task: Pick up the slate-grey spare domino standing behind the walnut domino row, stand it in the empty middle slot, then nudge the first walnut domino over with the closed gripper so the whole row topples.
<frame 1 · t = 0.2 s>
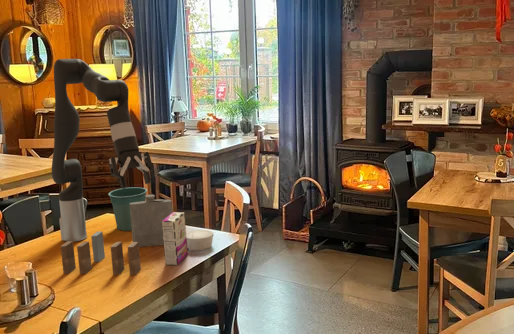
hand: (136, 185, 170), 31 cm above the table, tool tilted 20°, fingers open, 8 cm apart
domino 2: (85, 271, 181), on the table
ramekin: (199, 247, 202), on the table
flower pot: (131, 227, 230), on the table
hip flask: (153, 244, 207), on the table
domino 5: (135, 272, 179), on the table
candy bar box: (176, 260, 189), on the table
domino 1: (69, 271, 182), on the table
spare domino: (99, 259, 192), on the table
domino 4: (118, 271, 180), on the table
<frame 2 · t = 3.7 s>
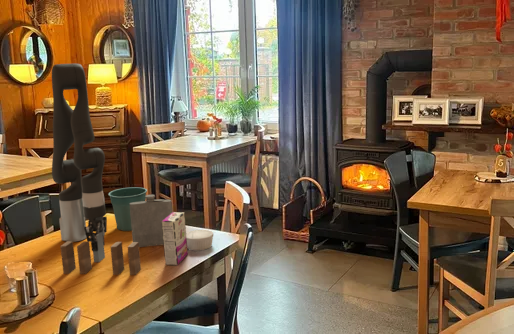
hand: (98, 248, 191), 4 cm above the table, tool pointing down, fingers closed on spare domino, 5 cm apart
spare domino: (99, 259, 192), on the table, touching gripper
everything else where it was.
when the fingers open (5 cm above the table, at t = 9.5 s): spare domino stays where it is, on the table.
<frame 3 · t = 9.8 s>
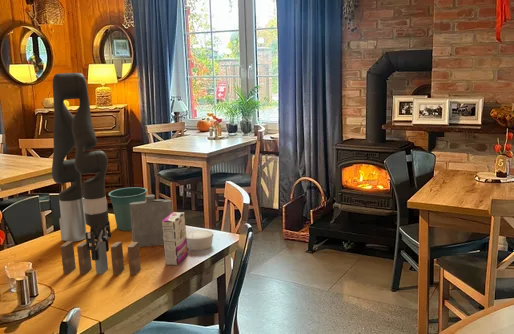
hand: (100, 255, 179), 6 cm above the table, tool pointing down, fingers open, 8 cm apart
spare domino: (102, 271, 181), on the table
everything else where it was.
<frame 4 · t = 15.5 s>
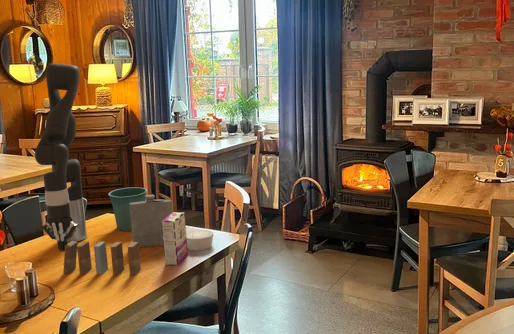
hand: (63, 250, 181), 8 cm above the table, tool pointing down, fingers closed
domino 1: (69, 270, 182), on the table, tilted 10°
everything else where it was.
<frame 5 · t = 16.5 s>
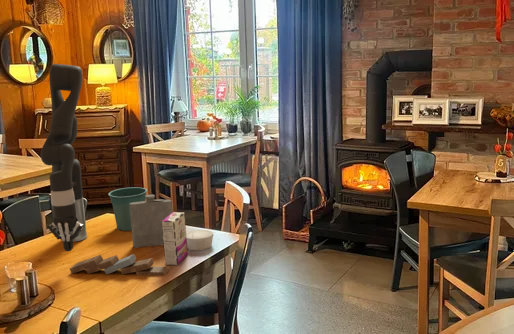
hand: (68, 250, 181), 8 cm above the table, tool pointing down, fingers closed
domino 2: (90, 268, 181), point 1 cm above the table, tilted 71°, touching domino 1, spare domino
domino 5: (138, 271, 179), on the table, tilted 90°
domino 1: (74, 268, 182), point 1 cm above the table, tilted 70°, touching domino 2
spare domino: (107, 269, 180), point 1 cm above the table, tilted 68°, touching domino 2
domino 4: (123, 269, 179), point 1 cm above the table, tilted 78°
everything else where it was.
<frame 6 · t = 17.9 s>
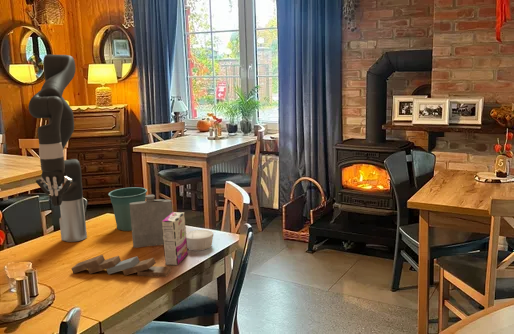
hand: (57, 205, 179), 23 cm above the table, tool pointing down, fingers closed
domino 2: (91, 268, 181), point 1 cm above the table, tilted 72°, touching domino 1
domino 5: (140, 271, 178), on the table, tilted 90°
spare domino: (111, 269, 180), point 1 cm above the table, tilted 70°, touching domino 4
domino 4: (127, 269, 179), point 1 cm above the table, tilted 72°, touching spare domino
everything else where it was.
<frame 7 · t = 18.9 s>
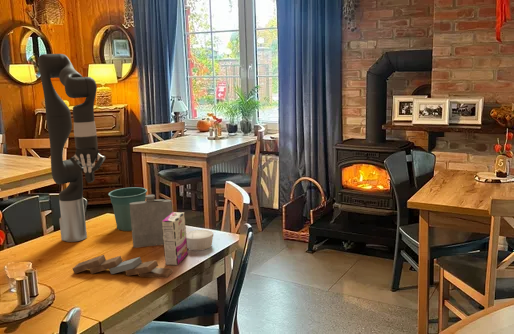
hand: (90, 182, 188), 29 cm above the table, tool pointing down, fingers closed
domino 2: (93, 268, 181), point 1 cm above the table, tilted 73°, touching domino 1, spare domino
domino 5: (141, 272, 178), on the table, tilted 90°, touching domino 4
domino 1: (76, 268, 182), point 1 cm above the table, tilted 71°, touching domino 2
spare domino: (114, 268, 180), point 1 cm above the table, tilted 71°, touching domino 2, domino 4
domino 4: (130, 270, 178), point 1 cm above the table, tilted 74°, touching domino 5, spare domino
everything else where it was.
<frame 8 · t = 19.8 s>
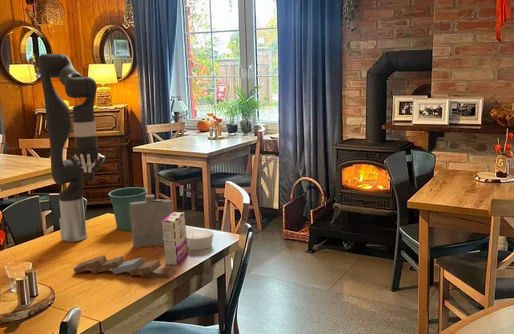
hand: (90, 182, 188), 29 cm above the table, tool pointing down, fingers closed
domino 2: (94, 268, 181), point 1 cm above the table, tilted 73°, touching domino 1
spare domino: (117, 268, 180), point 1 cm above the table, tilted 71°, touching domino 4
domino 4: (134, 269, 177), point 1 cm above the table, tilted 73°, touching domino 5, spare domino
at the end: spare domino inside the target area (0.4 cm from its centre), point 1.1 cm above the table; spare domino tilted 72°; domino 5 tilted 90° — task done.
